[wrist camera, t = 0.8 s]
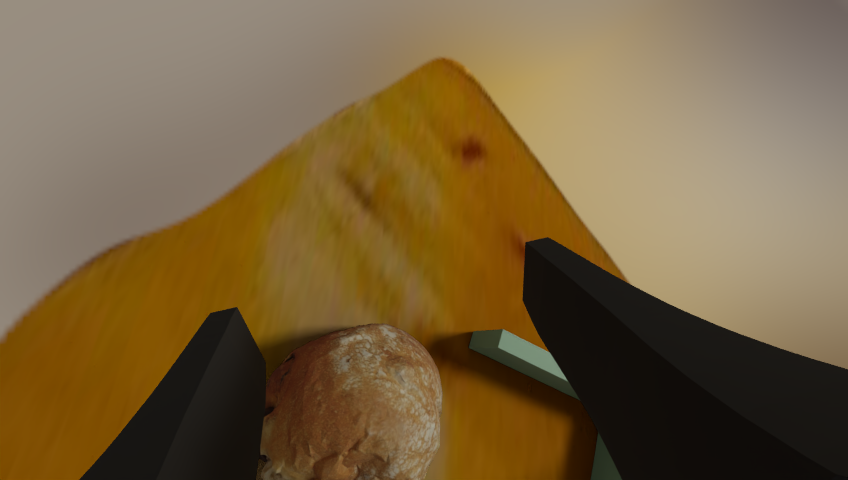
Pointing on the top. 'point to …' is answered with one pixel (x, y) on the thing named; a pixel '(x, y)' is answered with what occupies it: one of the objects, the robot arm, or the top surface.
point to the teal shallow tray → (542, 369)
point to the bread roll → (353, 409)
